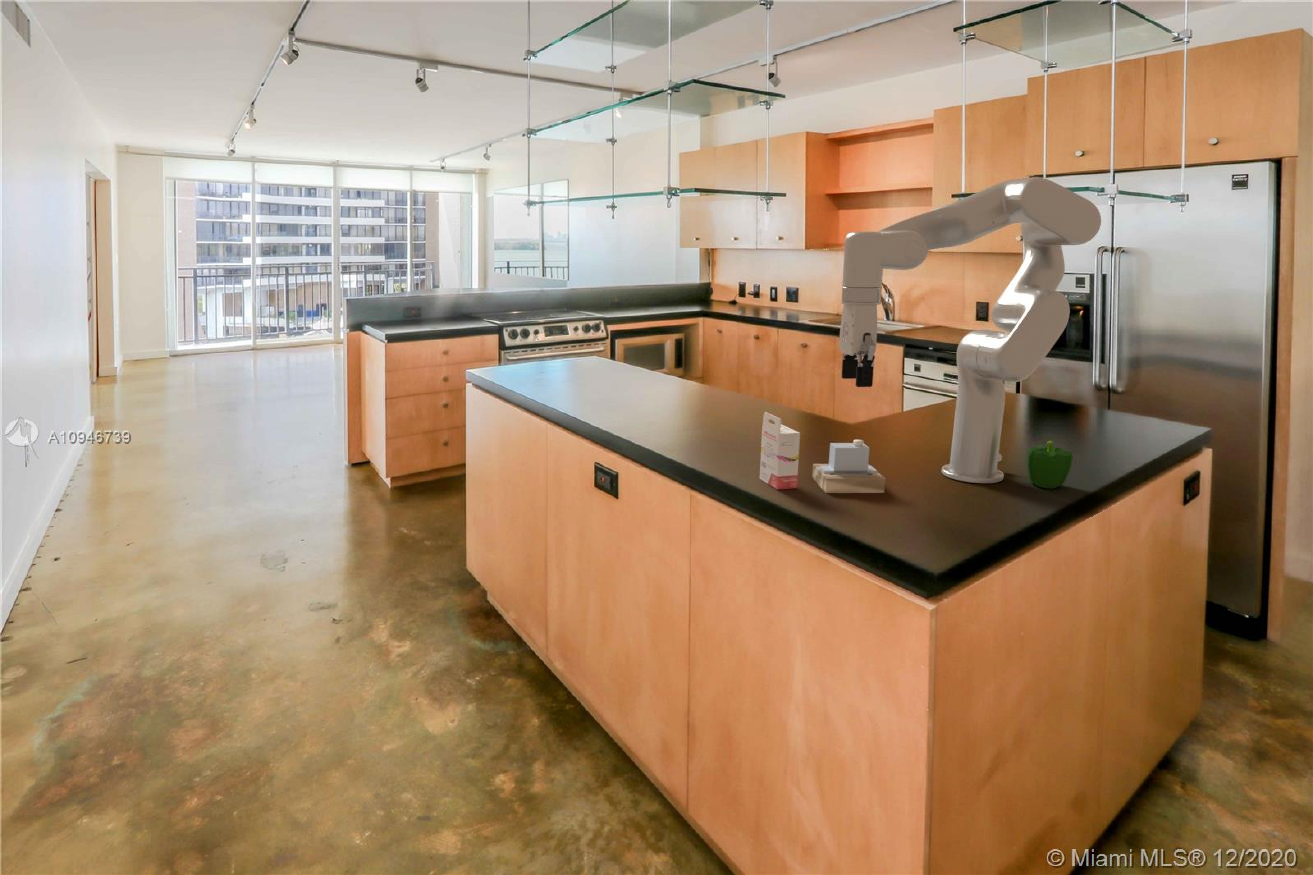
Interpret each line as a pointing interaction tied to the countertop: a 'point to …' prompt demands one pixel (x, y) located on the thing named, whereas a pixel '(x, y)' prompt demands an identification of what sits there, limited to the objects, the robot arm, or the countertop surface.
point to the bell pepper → (1048, 465)
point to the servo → (848, 459)
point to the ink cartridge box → (779, 454)
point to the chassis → (848, 482)
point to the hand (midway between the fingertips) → (856, 382)
